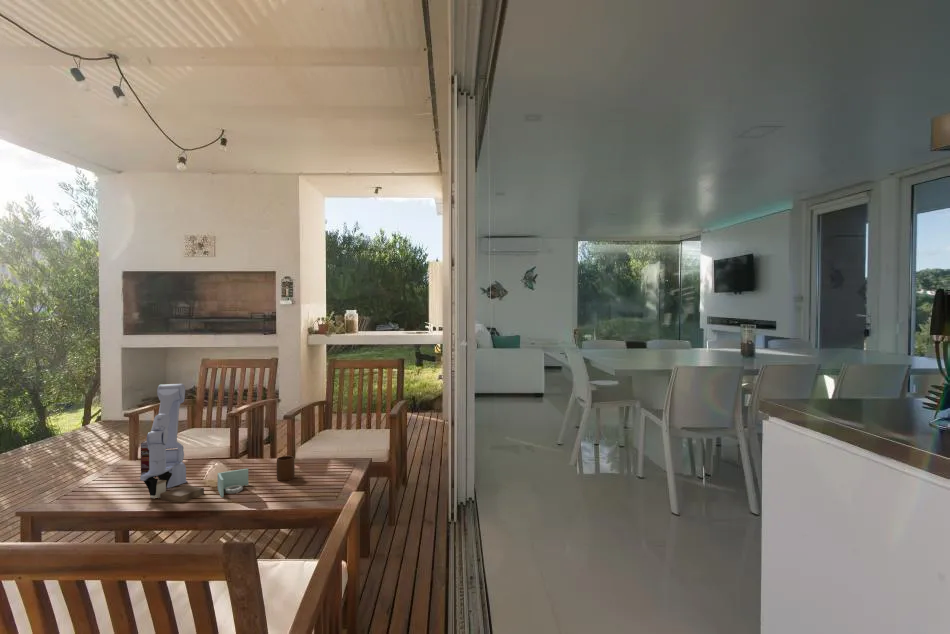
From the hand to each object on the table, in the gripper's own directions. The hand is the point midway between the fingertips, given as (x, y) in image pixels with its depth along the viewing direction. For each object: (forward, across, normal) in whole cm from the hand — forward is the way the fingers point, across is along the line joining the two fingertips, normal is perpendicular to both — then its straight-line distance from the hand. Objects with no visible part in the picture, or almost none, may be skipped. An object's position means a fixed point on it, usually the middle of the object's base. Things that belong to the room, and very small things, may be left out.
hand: (158, 493), depth 214 cm
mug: (+2, -35, +36) cm, 50 cm away
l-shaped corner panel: (+2, -14, +26) cm, 29 cm away
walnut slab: (+2, -2, +10) cm, 11 cm away
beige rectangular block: (+1, 0, 0) cm, 1 cm away
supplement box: (+2, -23, -28) cm, 37 cm away
